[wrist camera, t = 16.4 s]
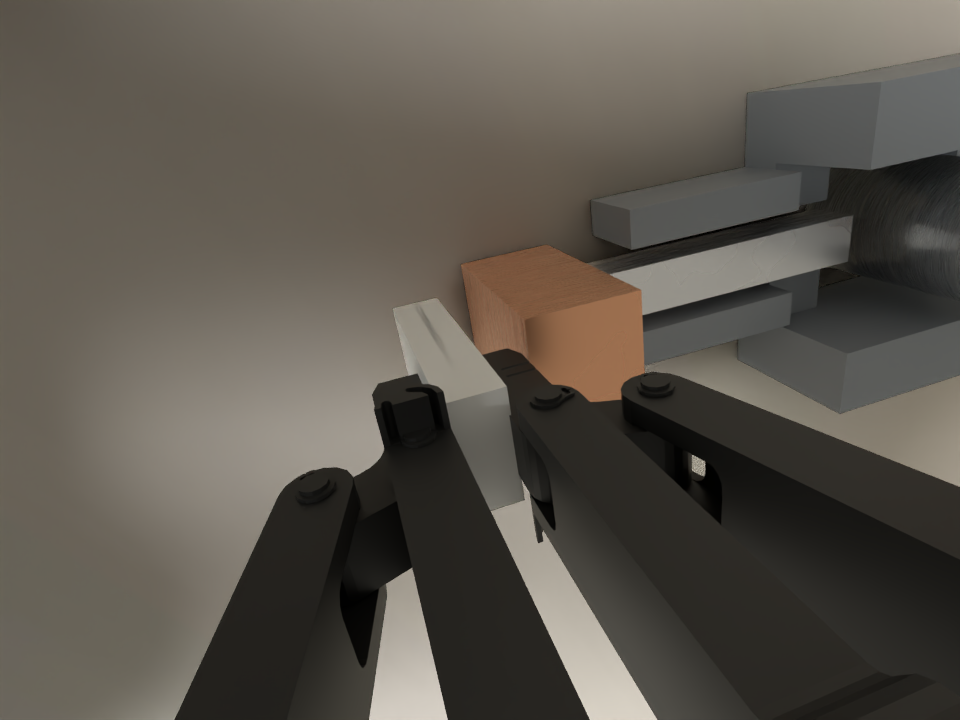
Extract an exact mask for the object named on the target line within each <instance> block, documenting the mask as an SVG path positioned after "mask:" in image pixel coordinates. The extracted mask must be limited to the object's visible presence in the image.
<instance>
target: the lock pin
mask: <svg viewBox="0 0 960 720" xmlns="http://www.w3.org/2000/svg"><path fill="white" fill-rule="evenodd" d="M852 222H853V215H850V214H843V213H837V212H831V211H824V210H818V209H813V210H809V211H805V212H801V213H797V214H792V215H788V216H784V217H780V218H775V219H771V220H767V221H763V222H759V223H754V224H750V225H746V226H742V227H738V228H733V229H729V230H725V231H721V232H717V233H712V234H708V235H704V236H700V237H696V238H691V239H687V240H683V241H679V242H674V243H670V244H666V245H662V246H658V247H653V248H649V249H645V250H641V251H637V252H632V253H628V254H624V255H620V256H616V257H611V258H607V259H603V260H599V261H595V262H590V263H584V262H582V261H580V260H578V259H576V258H574V257H572V256H569V255H567V254H565V253H563V252H561V251H559V250H557V249H555V248H553V247H551V246H549V245H543V246H539V247H534V248H530V249H525V250H521V251H517V252H512V253H508V254H503V255H499V256H495V257H490V258H486V259H481V260H477V261H473V262H468V263H464V264H461V268H462V274H463V279H464V285H465V291H466V297H467V302H468V308H469V314H470V320H471V325H472V331H473V337H474V343H475V347H476V348H477V349H478V351H479V352H480V353H481V354H482V355H483V354H487V353H491V352H494V351H498V350H502V349H506V348H508V349H511V350H513V351H516V352H519V353H522V354H523V355H524V356H525V358H526V359H527V360H528V361H529V363H531V364H532V365H533V366H534V367H535V368H536V369H537V370H538V371H539V372H540V373H541V374H542V375H543V376H544V377H545V378H546V379H547V380H548V381H549V382H550V383H551V384H552V385H564V386H569V387H572V388H574V389H576V390H577V391H579V392H580V393H581V394H582V395H583V396H584V397H585V398H586V399H587V400H589V401H590V402H601V401H611V400H620V399H621V387H622V385H623V383H624V382H626V381H627V380H629V379H630V378H632V377H635V376H638V375H641V374H643V373H645V370H644V344H643V318H642V315H645V314H649V313H653V312H657V311H661V310H664V309H668V308H672V307H676V306H680V305H684V304H687V303H691V302H695V301H699V300H703V299H706V298H710V297H714V296H718V295H722V294H726V293H729V292H733V291H737V290H741V289H745V288H748V287H752V286H756V285H760V284H764V283H768V282H771V281H775V280H779V279H783V278H787V277H790V276H794V275H798V274H802V273H806V272H810V271H813V270H817V269H821V268H825V267H829V266H832V265H836V264H840V263H844V262H848V256H849V248H850V239H851V231H852Z"/></svg>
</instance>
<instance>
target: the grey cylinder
mask: <svg viewBox="0 0 960 720" xmlns="http://www.w3.org/2000/svg"><path fill="white" fill-rule="evenodd" d="M813 209H818V210H824V211H831V212H837V213H843V214H850V215H853V222H852V231H851V239H850V248H849V256H848V262H844V263H840V264H836V265H832V266H829V267H830V268H833V269H837V270H841V271H845V272H849V273H852V274H856V275H860V276H864V277H868V278H871V279H875V280H879V281H883V282H886V283H890V284H894V285H898V286H902V287H905V288H909V289H913V290H917V291H921V292H924V293H928V294H932V295H936V296H940V297H943V298H947V299H951V300H955V301H959V302H960V156H953V155H934V156H930V157H925V158H921V159H917V160H912V161H908V162H903V163H899V164H895V165H890V166H886V167H881V168H877V169H873V170H863V169H849V168H835V167H831V168H830V174H829V185H828V195H827V200H823V201H818V202H814V203H810V204H807V206H806V210H805V211H809V210H813Z"/></svg>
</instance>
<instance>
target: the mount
mask: <svg viewBox="0 0 960 720" xmlns="http://www.w3.org/2000/svg"><path fill="white" fill-rule="evenodd" d="M934 155H953V156H960V54H954V55H949V56H943V57H938V58H933V59H927V60H922V61H917V62H911V63H906V64H901V65H895V66H890V67H884V68H879V69H874V70H868V71H863V72H858V73H852V74H847V75H842V76H836V77H831V78H825V79H820V80H815V81H809V82H804V83H799V84H793V85H788V86H783V87H777V88H772V89H766V90H761V91H756V92H750V93H747V118H746V144H745V167H742V168H737V169H733V170H728V171H723V172H719V173H714V174H709V175H705V176H700V177H695V178H691V179H686V180H681V181H677V182H672V183H667V184H663V185H658V186H654V187H649V188H644V189H640V190H635V191H630V192H626V193H621V194H616V195H612V196H607V197H602V198H598V199H593V200H590V203H591V217H592V230H593V236H596V237H598V238H601V239H604V240H606V241H609V242H612V243H614V244H617V245H620V246H623V247H625V248H628V249H631V250H633V249H637V248H641V247H646V246H650V245H654V244H658V243H662V242H667V241H671V240H675V239H679V238H684V237H688V236H692V235H696V234H700V233H705V232H709V231H713V230H717V229H722V228H726V227H730V226H734V225H739V224H743V223H747V222H751V221H755V220H760V219H764V218H768V217H772V216H777V215H781V214H785V213H789V212H793V211H798V210H799V206H801V205H806V204H810V203H814V202H818V201H823V200H827V195H828V185H829V174H830V167H835V168H849V169H863V170H873V169H877V168H881V167H886V166H890V165H895V164H899V163H903V162H908V161H912V160H917V159H921V158H925V157H930V156H934ZM819 277H820V269H817V270H813V271H810V272H806V273H802V274H798V275H794V276H790V277H787V278H783V279H779V280H775V281H771V282H768V283H764V284H760V285H756V286H752V287H748V288H745V289H741V290H737V291H733V292H729V293H726V294H722V295H718V296H714V297H710V298H706V299H703V300H699V301H695V302H691V303H687V304H684V305H680V306H676V307H672V308H668V309H664V310H661V311H657V312H653V313H649V314H645V315H642V318H643V344H644V366H645V365H648V364H652V363H655V362H659V361H662V360H666V359H670V358H673V357H677V356H680V355H684V354H687V353H691V352H695V351H698V350H702V349H705V348H709V347H712V346H716V345H719V344H723V343H727V342H730V341H734V340H737V339H738V357H737V359H738V360H740V361H742V362H743V363H745V364H747V365H749V366H751V367H753V368H755V369H757V370H758V371H760V372H762V373H764V374H766V375H768V376H770V377H772V378H773V379H775V380H777V381H779V382H781V383H783V384H785V385H787V386H788V387H790V388H792V389H794V390H796V391H798V392H800V393H802V394H803V395H805V396H807V397H809V398H811V399H813V400H815V401H817V402H818V403H820V404H822V405H824V406H826V407H828V408H830V409H832V410H833V411H835V412H837V413H839V414H841V413H844V412H847V411H850V410H853V409H856V408H859V407H862V406H865V405H869V404H872V403H875V402H878V401H881V400H884V399H887V398H890V397H893V396H896V395H900V394H903V393H906V392H909V391H912V390H915V389H918V388H921V387H924V386H927V385H931V384H934V383H937V382H940V381H943V380H946V379H949V378H952V377H955V376H959V375H960V302H959V301H955V300H951V299H947V298H943V297H940V296H936V295H932V294H928V293H924V292H921V291H917V290H913V289H909V288H905V287H902V286H898V285H894V284H890V283H886V282H883V281H879V280H875V279H871V278H868V277H864V276H861V277H857V278H853V279H849V280H846V281H842V282H838V283H835V284H831V285H827V286H823V287H820V288H818V287H819Z"/></svg>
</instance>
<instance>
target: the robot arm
mask: <svg viewBox="0 0 960 720" xmlns="http://www.w3.org/2000/svg"><path fill="white" fill-rule="evenodd" d="M393 313H394V317H395V321H396V325H397V329H398V334H399V338H400V342H401V346H402V351H403V355H404V359H405V363H406V368H407V372H408V376H406V377H402V378H398V379H394V380H390V381H387V382H383V383H379V384H378V385H377V387H376V389H375V390H374V392H373V394H372V397H373V401H374V405H375V408H374V411H375V415H376V419H377V422H378V426H379V430H380V433H381V437H382V441H383V445H384V452H383V454H382V456H381V458H380V459H379V460H378V461H377V463H375V464H374V465H373V466H372V467H371V468H369V469H368V470H366V471H364V472H363V473H361V474H359V475H357V476H355V477H353V476H352V475H351V474H350V473H349V472H348V471H347V470H344V469H340V468H337V467H336V468H322V469H318V470H312V471H310V472H307V473H306V474H303V475H301V476H299V477H297V478H296V479H295V480H293V481H292V482H291V483H289V484H288V485H287V486H285V488H284V489H283V490H282V492H281V493H280V495H279V496H278V498H277V500H276V502H275V505H274V507H273V509H272V511H271V513H270V515H269V517H268V520H267V522H266V524H265V526H264V528H263V530H262V533H261V535H260V537H259V539H258V541H257V543H256V545H255V548H254V550H253V552H252V554H251V556H250V558H249V561H248V563H247V565H246V567H245V569H244V571H243V573H242V576H241V578H240V580H239V582H238V584H237V586H236V589H235V591H234V593H233V595H232V597H231V599H230V602H229V604H228V606H227V608H226V610H225V612H224V614H223V617H222V619H221V621H220V623H219V625H218V627H217V630H216V632H215V634H214V636H213V638H212V640H211V642H210V645H209V647H208V649H207V651H206V653H205V655H204V658H203V660H202V662H201V664H200V666H199V668H198V670H197V673H196V675H195V677H194V679H193V681H192V683H191V686H190V688H189V690H188V692H187V694H186V696H185V698H184V701H183V703H182V705H181V707H180V709H179V711H178V714H177V716H176V718H175V720H369V715H370V708H371V702H372V695H373V688H374V681H375V674H376V668H377V661H378V654H379V647H380V640H381V634H382V627H383V620H384V613H385V606H386V600H387V590H386V583H388V582H390V581H391V580H393V579H394V578H396V577H398V576H399V575H401V574H402V573H404V572H406V571H407V570H409V569H410V568H413V572H414V577H415V581H416V585H417V589H418V594H419V598H420V602H421V607H422V611H423V615H424V619H425V624H426V628H427V632H428V637H429V641H430V645H431V649H432V654H433V658H434V662H435V666H436V671H437V675H438V679H439V684H440V688H441V692H442V696H443V701H444V705H445V709H446V714H447V718H448V720H590V719H589V717H588V715H587V713H586V711H585V709H584V707H583V705H582V702H581V700H580V698H579V696H578V694H577V692H576V690H575V688H574V686H573V684H572V681H571V679H570V677H569V675H568V673H567V671H566V669H565V667H564V665H563V662H562V660H561V658H560V656H559V654H558V652H557V650H556V648H555V646H554V644H553V641H552V639H551V637H550V635H549V633H548V631H547V629H546V627H545V625H544V623H543V620H542V618H541V616H540V614H539V612H538V610H537V608H536V606H535V604H534V602H533V599H532V597H531V595H530V593H529V591H528V589H527V587H526V585H525V583H524V580H523V578H522V576H521V574H520V572H519V570H518V568H517V566H516V564H515V562H514V559H513V557H512V555H511V553H510V551H509V549H508V547H507V545H506V543H505V541H504V538H503V536H502V534H501V532H500V530H499V528H498V526H497V524H496V522H495V519H494V517H493V515H492V513H491V511H492V510H495V509H498V508H501V507H504V506H507V505H511V504H514V503H517V502H520V501H523V500H525V499H524V492H523V486H522V481H523V482H524V484H525V486H526V487H527V489H528V490H529V492H530V498H531V505H532V511H533V518H534V524H535V531H536V537H537V541H538V543H540V542H543V537H542V532H543V530H544V532H545V534H546V535H547V537H548V538H549V540H550V542H551V543H552V545H553V547H554V548H555V550H556V552H557V553H558V555H559V557H560V558H561V560H562V562H563V563H564V565H565V567H566V568H567V570H568V572H569V573H570V575H571V577H572V578H573V580H574V582H575V583H576V585H577V587H578V588H579V590H580V592H581V593H582V595H583V597H584V598H585V600H586V602H587V603H588V605H589V607H590V608H591V610H592V612H593V613H594V615H595V617H596V618H597V620H598V622H599V623H600V625H601V627H602V628H603V630H604V632H605V633H606V635H607V637H608V638H609V640H610V642H611V643H612V645H613V647H614V648H615V650H616V652H617V653H618V655H619V656H620V658H621V660H622V661H623V663H624V665H625V666H626V668H627V670H628V671H629V673H630V675H631V676H632V678H633V680H634V681H635V683H636V685H637V686H638V688H639V690H640V691H641V693H642V695H643V696H644V698H645V700H646V701H647V703H648V705H649V706H650V708H651V710H652V711H653V713H654V715H655V716H656V718H657V720H960V487H958V486H956V485H953V484H950V483H948V482H945V481H943V480H940V479H938V478H935V477H933V476H930V475H928V474H925V473H923V472H920V471H918V470H915V469H913V468H910V467H907V466H905V465H902V464H900V463H897V462H895V461H892V460H890V459H887V458H885V457H882V456H880V455H877V454H875V453H872V452H870V451H867V450H864V449H862V448H859V447H857V446H854V445H852V444H849V443H847V442H844V441H842V440H839V439H837V438H834V437H832V436H829V435H826V434H824V433H821V432H819V431H816V430H814V429H811V428H809V427H806V426H804V425H801V424H799V423H796V422H794V421H791V420H789V419H786V418H783V417H781V416H778V415H776V414H773V413H771V412H768V411H766V410H763V409H761V408H758V407H756V406H753V405H751V404H748V403H745V402H743V401H740V400H738V399H735V398H733V397H730V396H728V395H725V394H723V393H720V392H718V391H715V390H713V389H710V388H708V387H705V386H702V385H700V384H697V383H695V382H692V381H690V380H687V379H685V378H682V377H680V376H676V375H672V374H668V373H658V372H650V373H643V374H641V375H638V376H635V377H632V378H630V379H629V380H627V381H626V382H624V383H623V385H622V387H621V399H620V400H611V401H601V402H590V401H589V400H587V399H586V398H585V397H584V396H583V395H582V394H581V393H580V392H579V391H577V390H576V389H574V388H572V387H569V386H564V385H552V384H551V383H550V382H549V381H548V380H547V379H546V378H545V377H544V376H543V375H542V374H541V373H540V372H539V371H538V370H537V369H536V368H535V367H534V366H533V365H532V364H531V363H529V361H528V360H527V359H526V358H525V356H524V355H523V354H522V353H519V352H516V351H513V350H511V349H508V348H506V349H502V350H498V351H494V352H491V353H487V354H483V355H482V354H481V353H480V352H479V351H478V349H477V348H476V347H475V346H474V344H473V343H472V342H471V340H470V339H469V338H468V337H467V335H466V334H465V333H464V332H463V330H462V329H461V328H460V327H459V325H458V324H457V323H456V321H455V320H454V319H453V318H452V316H451V315H450V314H449V313H448V311H447V310H446V309H445V308H444V306H443V305H442V304H441V302H440V301H439V300H438V299H437V298H434V299H429V300H425V301H421V302H417V303H413V304H408V305H404V306H400V307H396V308H393ZM692 455H694V456H696V457H698V458H700V459H702V460H704V461H705V462H706V469H705V477H704V476H701V475H698V474H697V473H695V472H693V471H692ZM521 479H522V480H521Z"/></svg>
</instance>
